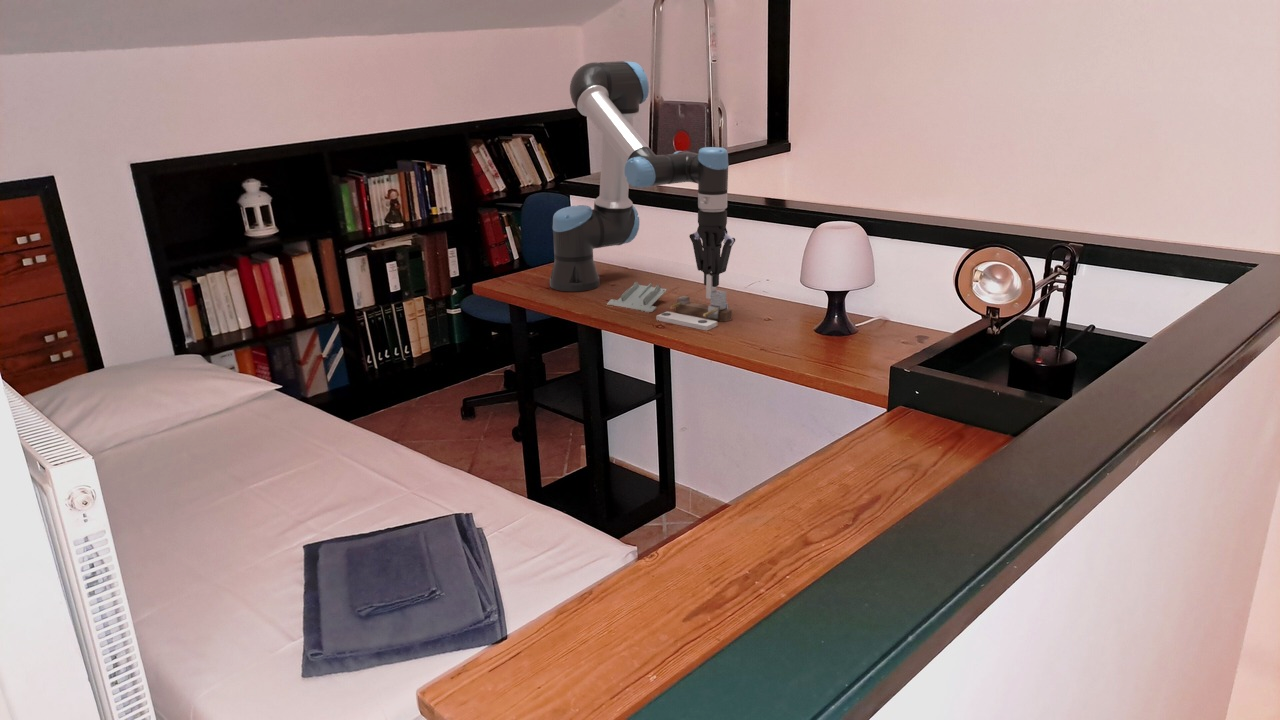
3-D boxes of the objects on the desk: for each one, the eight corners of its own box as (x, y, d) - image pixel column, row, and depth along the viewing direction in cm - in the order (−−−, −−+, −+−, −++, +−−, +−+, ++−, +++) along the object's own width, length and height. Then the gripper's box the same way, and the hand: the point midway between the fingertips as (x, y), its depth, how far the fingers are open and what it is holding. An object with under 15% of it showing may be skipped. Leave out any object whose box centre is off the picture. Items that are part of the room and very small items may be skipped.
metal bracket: (628, 276, 264) (673, 283, 257) (632, 293, 268) (676, 300, 260) (602, 301, 255) (648, 309, 247) (606, 319, 258) (651, 327, 251)
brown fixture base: (666, 315, 246) (666, 301, 245) (681, 309, 252) (681, 295, 250) (716, 326, 237) (717, 311, 236) (731, 319, 242) (731, 304, 241)
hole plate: (656, 320, 243) (656, 315, 242) (667, 315, 246) (667, 310, 246) (706, 330, 233) (707, 325, 233) (717, 325, 237) (717, 321, 237)
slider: (699, 320, 239) (699, 296, 236) (718, 312, 246) (718, 288, 243) (708, 322, 237) (709, 298, 235) (728, 314, 244) (728, 290, 242)
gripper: (683, 209, 236) (683, 297, 244) (726, 214, 228) (724, 304, 236) (699, 204, 241) (698, 290, 249) (741, 209, 234) (739, 298, 242)
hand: (711, 297), depth 243 cm, fingers closed
